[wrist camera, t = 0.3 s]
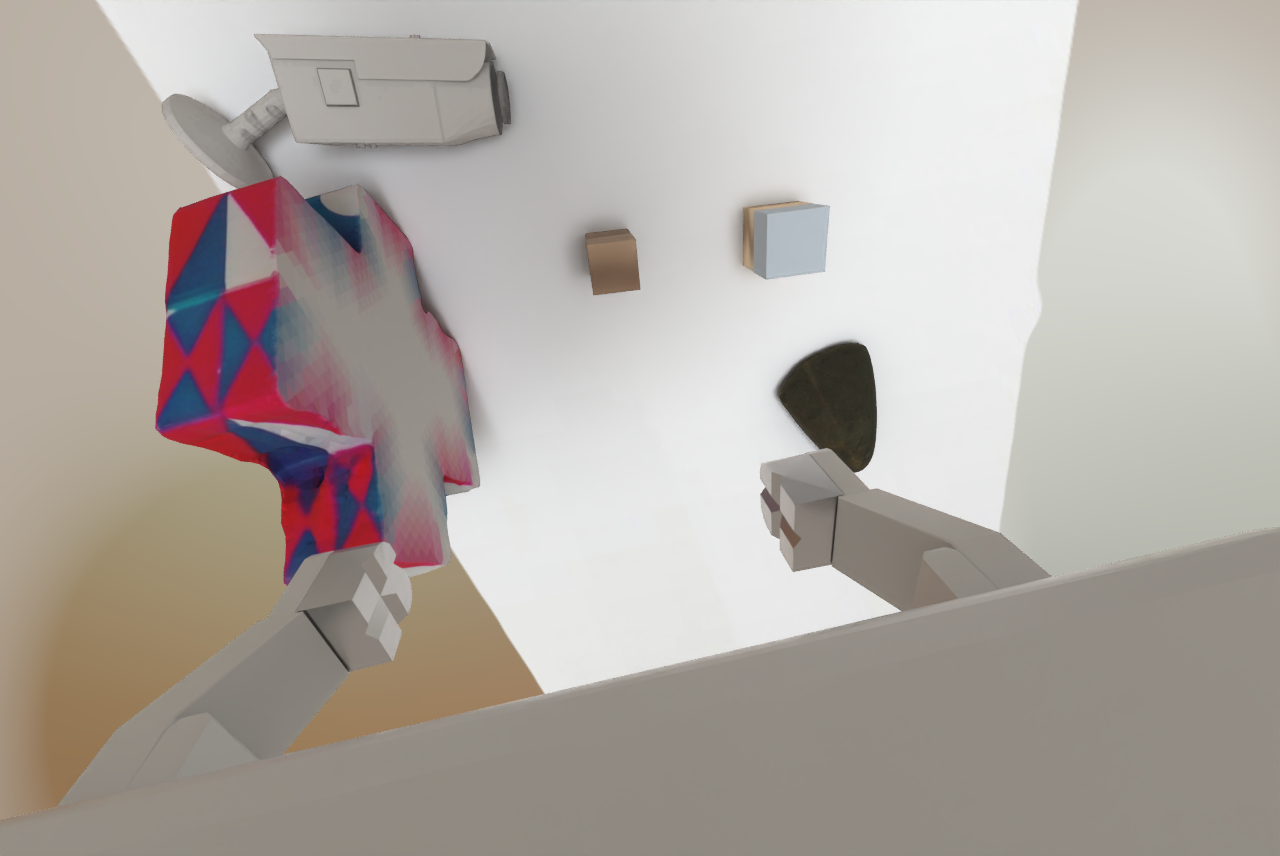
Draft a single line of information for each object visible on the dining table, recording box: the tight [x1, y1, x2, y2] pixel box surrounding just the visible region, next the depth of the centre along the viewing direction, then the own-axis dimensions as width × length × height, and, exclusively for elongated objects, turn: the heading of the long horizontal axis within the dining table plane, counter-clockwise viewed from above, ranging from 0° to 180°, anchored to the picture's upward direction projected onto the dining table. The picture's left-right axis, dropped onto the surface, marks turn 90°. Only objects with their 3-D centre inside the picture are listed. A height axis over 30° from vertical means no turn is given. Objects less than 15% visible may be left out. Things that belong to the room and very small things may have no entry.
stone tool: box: [780, 343, 877, 473], centre depth 63 cm, size 18×8×10 cm
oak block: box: [743, 201, 812, 271], centre depth 52 cm, size 6×6×4 cm
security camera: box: [162, 34, 511, 189], centre depth 41 cm, size 8×24×15 cm
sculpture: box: [155, 176, 480, 586], centre depth 41 cm, size 30×8×30 cm, turn 15°
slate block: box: [754, 204, 830, 279], centre depth 48 cm, size 6×6×4 cm
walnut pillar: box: [586, 229, 640, 295], centre depth 48 cm, size 4×4×9 cm
